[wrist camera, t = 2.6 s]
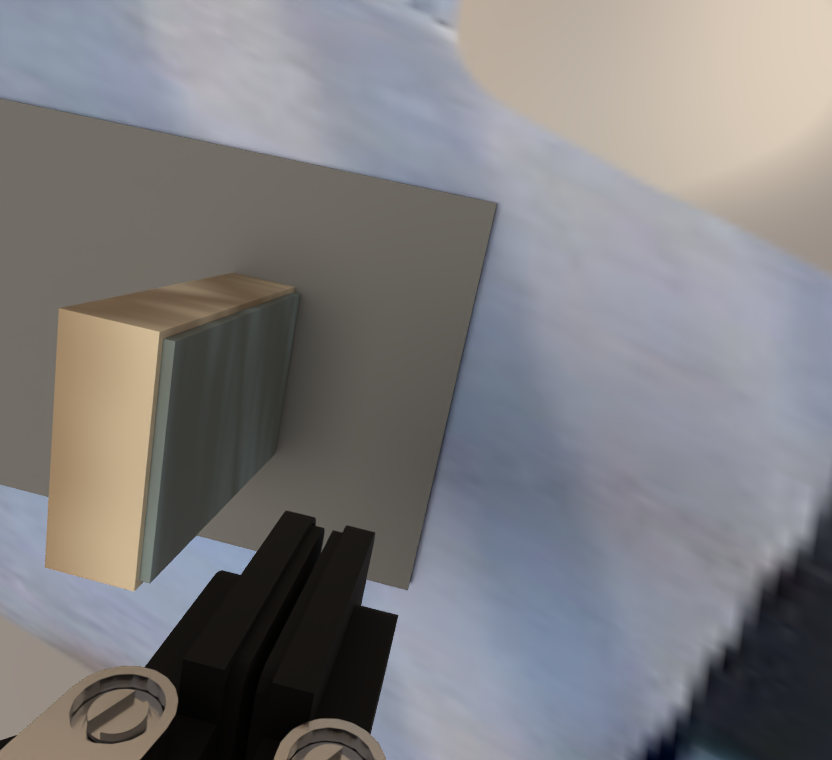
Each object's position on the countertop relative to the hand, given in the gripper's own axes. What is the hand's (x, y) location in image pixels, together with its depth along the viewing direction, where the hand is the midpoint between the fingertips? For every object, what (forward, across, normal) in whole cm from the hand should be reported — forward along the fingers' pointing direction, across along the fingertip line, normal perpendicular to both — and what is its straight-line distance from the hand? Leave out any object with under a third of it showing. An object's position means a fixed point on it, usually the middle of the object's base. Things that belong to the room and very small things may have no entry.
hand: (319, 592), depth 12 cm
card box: (+14, +6, +1) cm, 15 cm away
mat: (+14, +10, +1) cm, 18 cm away
